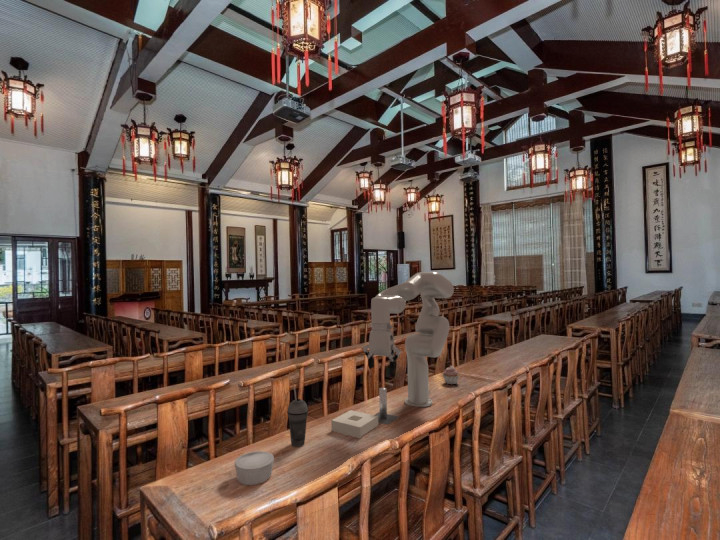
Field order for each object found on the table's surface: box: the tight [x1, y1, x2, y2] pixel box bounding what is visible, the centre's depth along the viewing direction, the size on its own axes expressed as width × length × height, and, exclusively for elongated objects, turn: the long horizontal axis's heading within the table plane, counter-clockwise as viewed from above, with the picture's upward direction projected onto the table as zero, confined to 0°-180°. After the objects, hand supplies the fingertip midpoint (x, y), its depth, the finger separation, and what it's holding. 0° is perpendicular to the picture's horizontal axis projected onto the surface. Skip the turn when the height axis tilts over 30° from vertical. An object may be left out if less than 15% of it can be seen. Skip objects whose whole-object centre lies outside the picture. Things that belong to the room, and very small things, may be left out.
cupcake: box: [441, 365, 461, 386], centre depth 206 cm, size 9×9×10 cm
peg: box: [378, 387, 388, 419], centre depth 154 cm, size 3×3×12 cm
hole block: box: [331, 409, 379, 439], centre depth 145 cm, size 13×13×4 cm
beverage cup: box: [287, 386, 309, 448], centre depth 132 cm, size 7×7×20 cm
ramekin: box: [234, 450, 275, 486], centre depth 110 cm, size 11×11×5 cm
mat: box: [374, 411, 400, 425], centre depth 154 cm, size 10×10×1 cm
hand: (381, 369), depth 153 cm, fingers open, 9 cm apart
